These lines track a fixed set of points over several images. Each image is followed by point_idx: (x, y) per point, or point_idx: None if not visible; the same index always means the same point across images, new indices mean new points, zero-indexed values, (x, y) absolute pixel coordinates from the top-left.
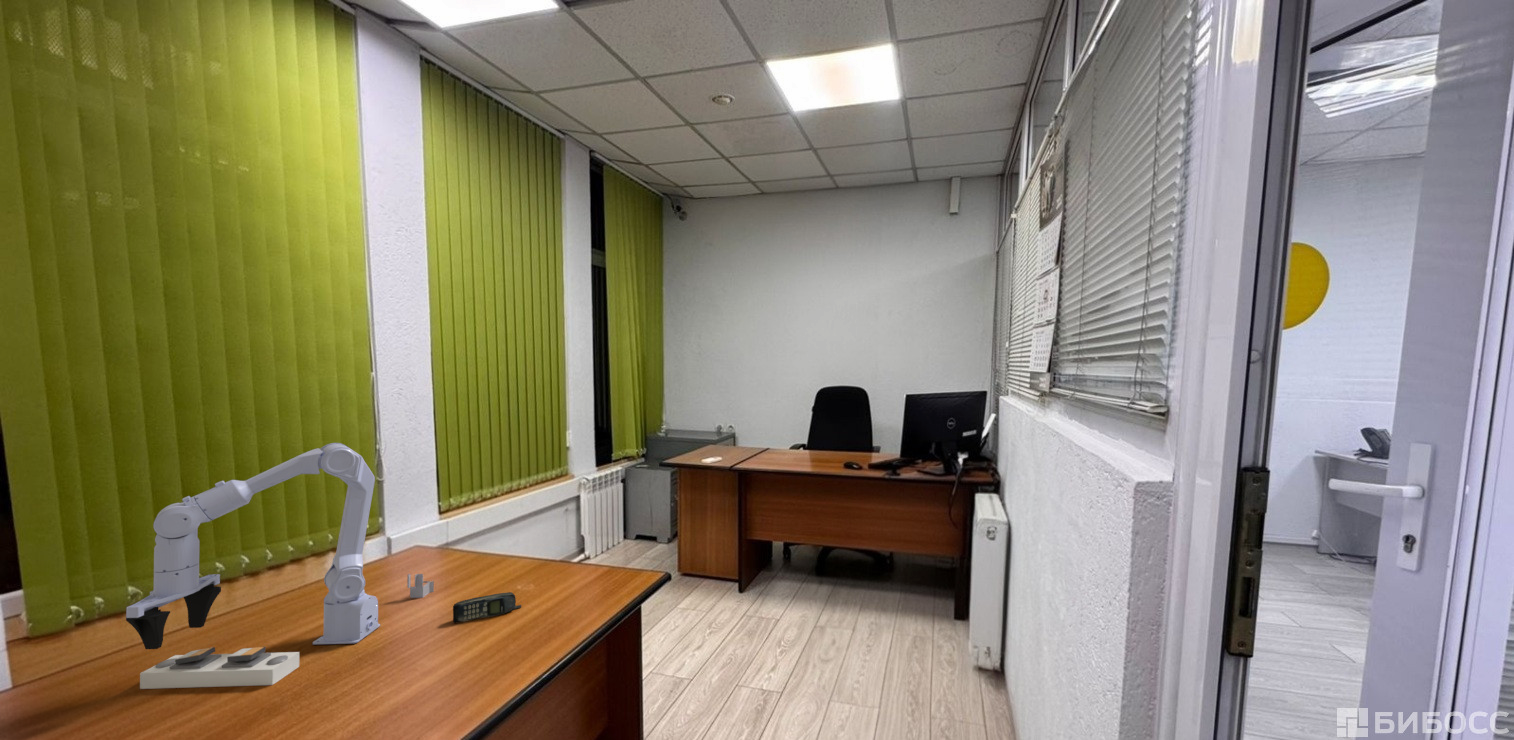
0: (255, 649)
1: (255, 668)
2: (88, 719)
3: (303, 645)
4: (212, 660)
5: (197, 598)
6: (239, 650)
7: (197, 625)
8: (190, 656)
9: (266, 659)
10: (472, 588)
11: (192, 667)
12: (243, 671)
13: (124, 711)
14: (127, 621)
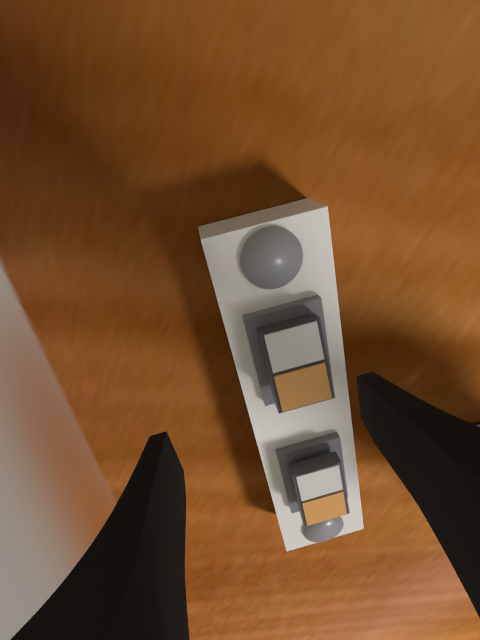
0: (333, 507)
1: (285, 519)
2: (49, 280)
3: None
4: None
5: (476, 556)
6: (328, 470)
7: (365, 415)
8: (275, 383)
9: None
10: None
11: (259, 383)
12: (273, 502)
13: (110, 332)
14: (15, 636)
